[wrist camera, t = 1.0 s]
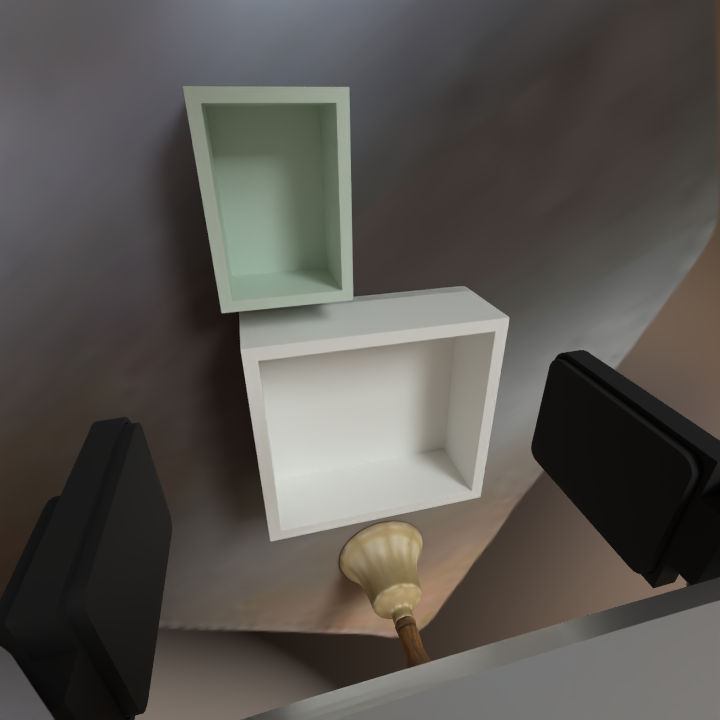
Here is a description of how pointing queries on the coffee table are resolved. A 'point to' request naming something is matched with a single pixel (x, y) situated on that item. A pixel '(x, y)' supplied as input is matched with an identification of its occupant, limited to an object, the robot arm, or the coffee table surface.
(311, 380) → the big crate
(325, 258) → the small crate
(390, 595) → the hand bell
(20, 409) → the coffee table surface
